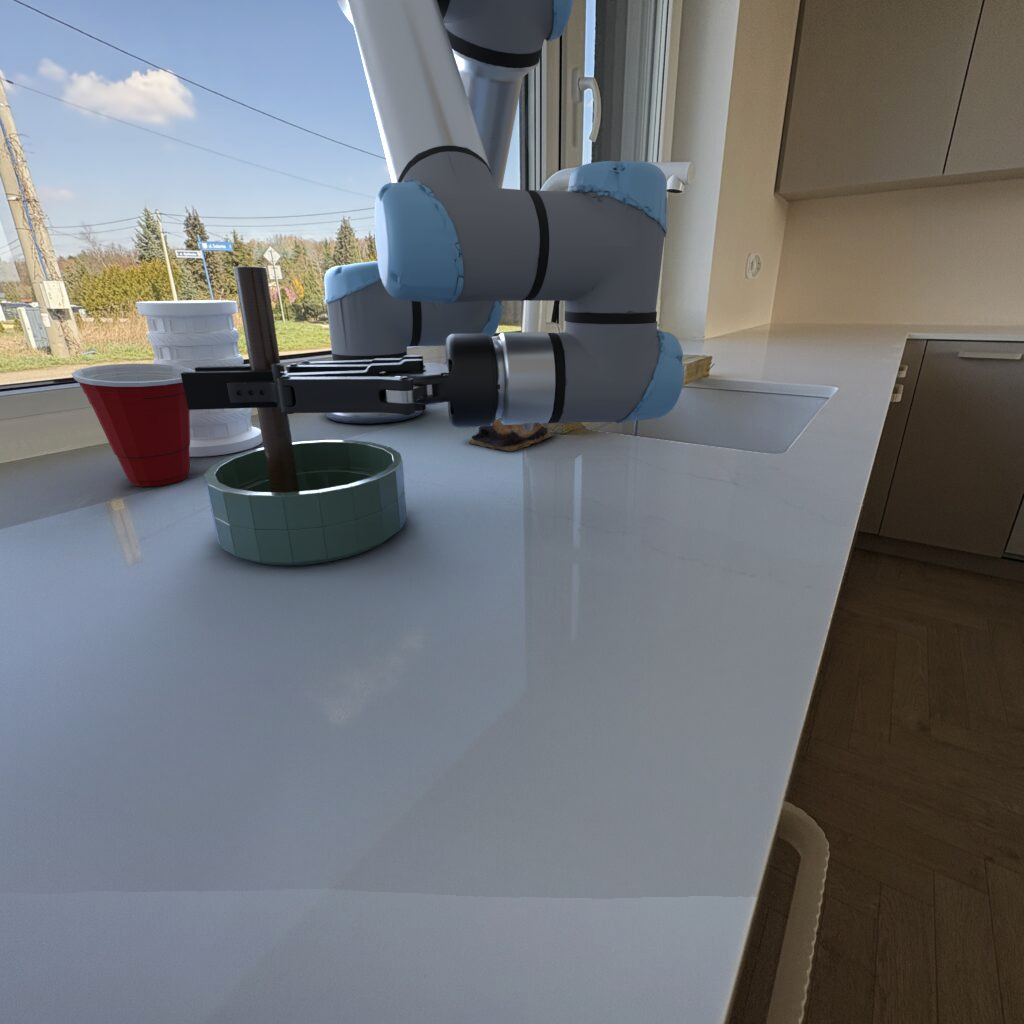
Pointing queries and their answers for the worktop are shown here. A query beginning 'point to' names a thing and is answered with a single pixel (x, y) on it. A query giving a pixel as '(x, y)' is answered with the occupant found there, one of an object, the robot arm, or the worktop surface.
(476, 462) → the worktop surface
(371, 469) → the bowl
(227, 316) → the decorative container
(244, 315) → the stirring stick
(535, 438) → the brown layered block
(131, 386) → the plastic cup
